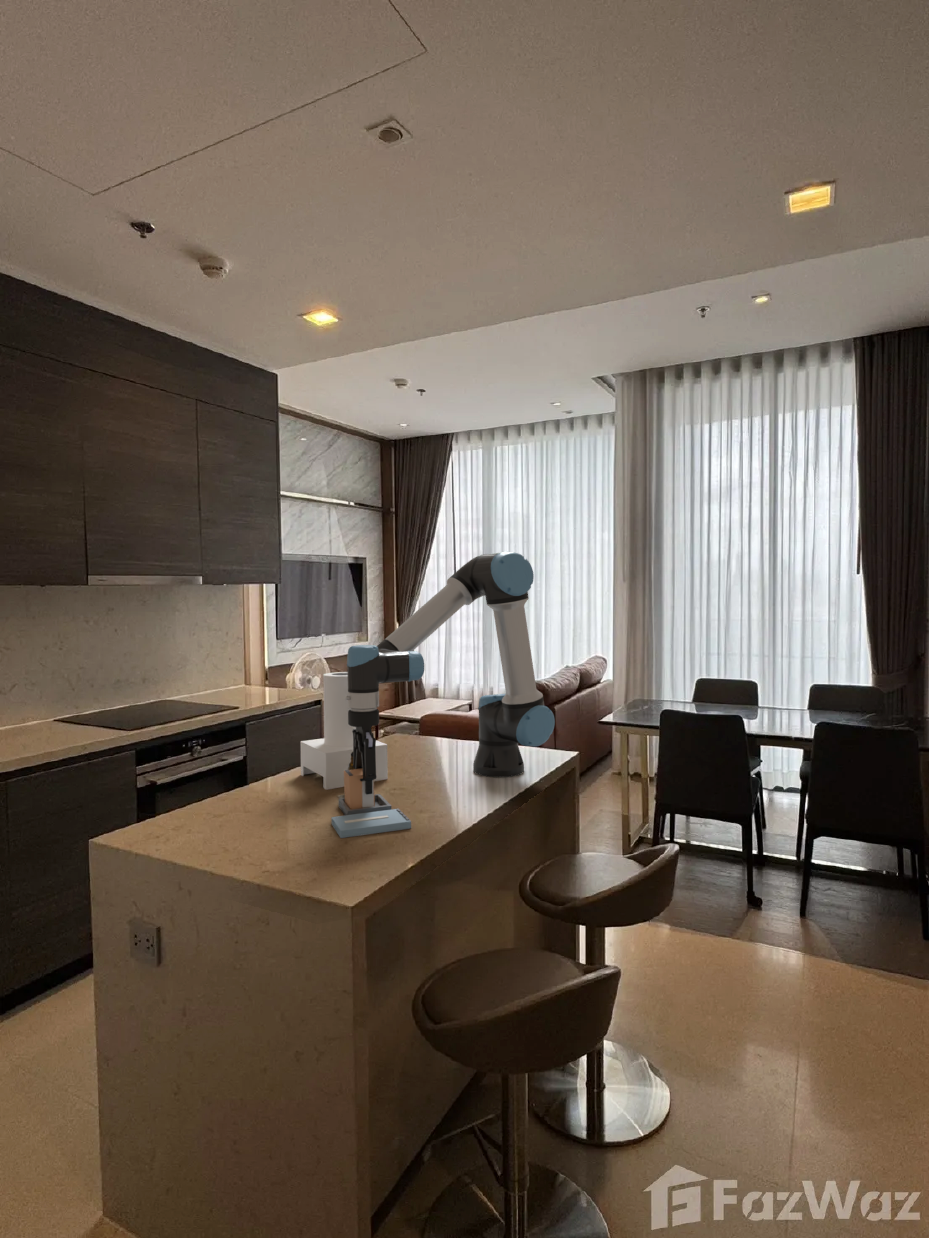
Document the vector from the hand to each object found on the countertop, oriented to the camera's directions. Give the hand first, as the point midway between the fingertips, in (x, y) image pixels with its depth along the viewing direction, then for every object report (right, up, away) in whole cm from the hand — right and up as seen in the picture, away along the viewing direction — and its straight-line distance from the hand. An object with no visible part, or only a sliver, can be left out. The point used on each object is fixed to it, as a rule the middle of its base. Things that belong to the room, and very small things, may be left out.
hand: (364, 802), depth 168 cm
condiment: (-3, -2, +11) cm, 11 cm away
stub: (-1, 0, 0) cm, 1 cm away
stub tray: (0, -2, 0) cm, 2 cm away
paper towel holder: (-11, -1, +31) cm, 33 cm away
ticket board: (+3, -2, -12) cm, 12 cm away
